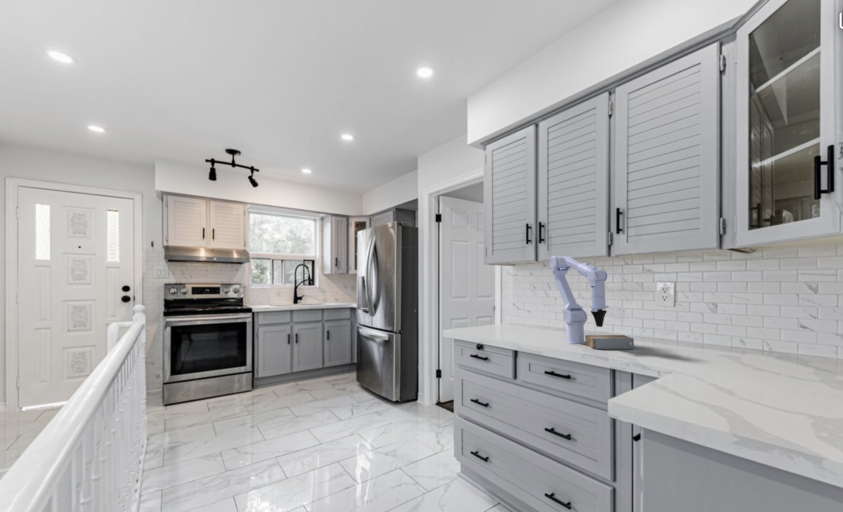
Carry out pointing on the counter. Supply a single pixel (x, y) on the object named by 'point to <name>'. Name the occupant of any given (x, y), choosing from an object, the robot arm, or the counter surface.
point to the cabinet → (590, 337)
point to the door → (613, 343)
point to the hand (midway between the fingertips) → (599, 326)
